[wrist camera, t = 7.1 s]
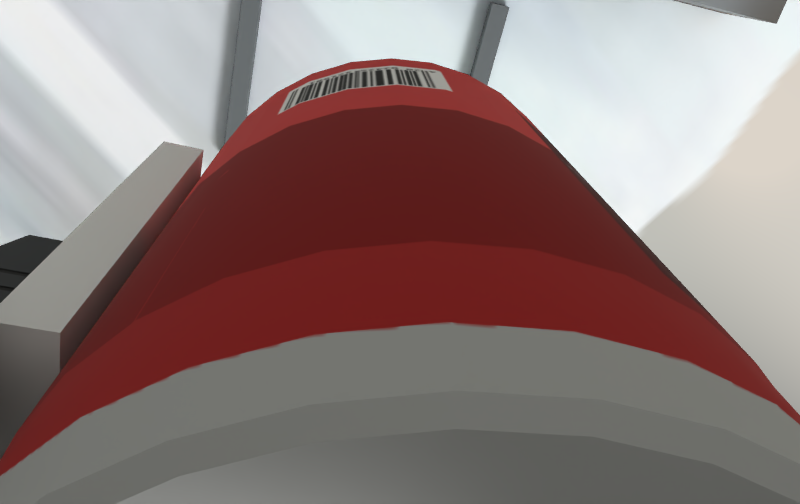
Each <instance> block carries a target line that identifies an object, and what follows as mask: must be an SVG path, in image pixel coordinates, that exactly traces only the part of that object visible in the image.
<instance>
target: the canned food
mask: <svg viewBox="0 0 800 504" xmlns="http://www.w3.org/2000/svg"><path fill="white" fill-rule="evenodd" d="M0 504H800V415H799V414H798V413H797V412H796V411H795V410H794V409H793V407H792V406H791V405H790V404H789V403H788V402H787V401H786V400H785V399H784V398H783V396H782V395H781V394H780V393H779V392H778V391H777V390H776V389H775V388H774V386H773V385H772V384H771V383H770V381H769V380H768V379H767V377H766V376H765V374H764V373H763V372H762V370H761V369H760V368H759V366H758V365H757V364H756V363H755V362H754V360H753V359H752V358H751V357H750V356H749V355H748V354H747V353H746V352H745V351H744V350H743V349H742V348H741V347H740V345H739V344H738V343H737V342H736V341H735V340H734V339H733V338H732V337H731V336H730V335H729V334H728V333H727V332H726V330H725V329H724V328H723V327H722V326H721V325H720V324H719V323H718V322H717V321H716V320H715V319H714V318H713V316H711V314H710V313H709V312H708V311H707V310H706V309H705V308H704V307H703V306H702V305H701V304H700V302H699V301H698V300H697V299H696V298H694V296H693V295H692V294H691V293H690V292H689V291H688V290H687V289H686V287H685V286H684V285H683V284H682V283H681V282H680V281H679V280H678V279H677V278H676V277H675V276H674V275H673V274H672V272H671V271H670V270H669V269H668V268H667V267H666V266H665V265H664V264H663V263H662V262H661V261H660V260H659V259H658V257H657V256H656V255H655V254H654V253H653V252H652V251H651V250H650V249H649V248H648V247H647V246H646V245H645V244H644V242H643V241H642V240H641V239H640V238H639V237H638V236H637V235H636V234H635V233H634V232H633V231H632V230H631V228H630V227H629V226H628V225H627V224H626V223H625V222H624V221H623V220H622V219H621V218H620V217H619V216H618V215H617V213H616V212H615V211H614V210H613V209H612V208H611V207H610V206H609V205H608V204H607V203H606V202H605V201H604V199H603V198H602V197H601V196H600V195H599V194H598V193H597V192H596V191H595V190H594V189H593V188H592V187H591V186H590V184H589V183H588V182H587V181H586V180H585V179H584V178H583V177H582V176H581V175H580V174H579V173H578V172H577V171H576V169H575V168H574V167H573V166H572V165H571V164H570V163H569V162H568V161H567V160H566V159H565V158H564V157H563V155H562V154H561V153H560V152H559V151H558V150H557V149H556V148H555V147H554V146H553V145H552V144H551V143H550V142H549V140H548V139H547V138H546V137H545V136H544V135H543V134H542V133H541V132H540V131H539V130H538V129H537V128H536V127H535V125H534V124H533V123H532V122H531V121H530V120H529V119H528V118H527V117H526V116H525V115H524V114H523V113H522V112H521V111H519V110H518V109H517V108H516V107H515V106H514V105H513V104H512V103H511V102H510V101H509V100H507V99H506V98H505V97H504V96H503V95H502V94H501V93H499V92H497V91H496V90H494V89H492V88H490V87H489V86H487V85H485V84H484V83H482V82H480V81H478V80H477V79H475V78H473V77H471V76H470V75H468V74H464V73H461V72H458V71H455V70H452V69H449V68H446V67H443V66H440V65H436V64H433V63H428V62H419V61H410V60H400V59H381V60H370V61H359V62H350V63H347V64H344V65H340V66H337V67H333V68H330V69H327V70H323V71H320V72H317V73H313V74H311V75H309V76H307V77H305V78H303V79H301V80H299V81H298V82H296V83H294V84H292V85H290V86H288V87H286V88H284V89H282V90H280V91H279V92H277V93H276V94H274V95H273V96H272V97H271V98H269V99H268V100H267V101H266V102H264V103H263V104H262V105H261V106H260V107H258V108H257V109H256V110H255V111H253V112H252V113H251V114H250V115H249V116H247V117H246V119H245V120H244V121H243V122H242V124H241V125H240V126H239V127H238V128H237V130H236V131H235V132H234V133H233V135H232V136H231V137H230V138H229V140H228V141H227V142H226V143H225V145H224V146H223V147H222V149H221V150H220V151H219V153H218V154H217V155H216V157H215V158H214V160H213V161H212V162H211V164H210V165H209V167H208V168H207V169H206V171H205V172H204V173H203V175H202V176H201V178H200V179H199V180H198V182H197V183H196V185H195V186H194V187H193V189H192V190H191V191H190V193H189V194H188V196H187V197H186V198H185V200H184V201H183V203H182V204H181V205H180V207H179V208H178V209H177V211H176V212H175V214H174V215H173V216H172V218H171V219H170V221H169V222H168V223H167V225H166V226H165V227H164V229H163V230H162V232H161V233H160V234H159V236H158V237H157V239H156V240H155V241H154V243H153V244H152V246H151V247H150V248H149V250H148V251H147V252H146V254H145V255H144V257H143V258H142V259H141V261H140V262H139V264H138V265H137V266H136V268H135V269H134V270H133V272H132V273H131V275H130V276H129V277H128V279H127V280H126V282H125V283H124V284H123V286H122V287H121V288H120V290H119V291H118V293H117V294H116V295H115V297H114V298H113V300H112V301H111V302H110V304H109V305H108V306H107V308H106V309H105V311H104V312H103V313H102V315H101V316H100V318H99V319H98V320H97V322H96V323H95V324H94V326H93V327H92V329H91V330H90V331H89V333H88V334H87V336H86V337H85V338H84V340H83V341H82V342H81V344H80V345H79V347H78V348H77V349H76V351H75V352H74V354H73V355H72V356H71V358H70V359H69V360H68V362H67V363H66V365H65V366H64V367H63V369H62V370H61V372H60V373H59V374H58V376H57V377H56V378H55V380H54V381H53V383H52V384H51V385H50V387H49V388H48V390H47V391H46V392H45V394H44V395H43V396H42V398H41V399H40V401H39V402H38V403H37V405H36V406H35V408H34V409H33V410H32V412H31V413H30V414H29V416H28V417H27V419H26V420H25V421H24V423H23V424H22V426H21V427H20V428H19V430H18V431H17V432H16V434H15V436H14V437H13V439H12V441H11V443H10V444H9V446H8V448H7V450H6V451H5V453H4V455H3V456H2V458H1V460H0Z"/></svg>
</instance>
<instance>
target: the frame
mask: <svg viewBox="0 0 800 504" xmlns="http://www.w3.org/2000/svg"><path fill="white" fill-rule="evenodd" d="M261 4H262V0H242V2H241V10H240V18H239V27H238V35H237V43H236V52H235V60H234V68H233V77H232V85H231V93H230V102H229V110H228V118H227V127H226V135H225V143H226V142H227V141H228V140H229V138H230V137H231V136H232V135H233V133H234V132H235V131H236V130H237V128H238V127H239V126H240V125H241V124H242V122H243V121H244V120H245V119H246V117H247V110H248V103H249V95H250V88H251V80H252V72H253V65H254V57H255V50H256V42H257V35H258V27H259V20H260V12H261ZM508 10H509V7H507V6H504V5H500V4H496V3H492V2H490V5H489V9H488V12H487V16H486V20H485V23H484V27H483V31H482V34H481V38H480V42H479V45H478V49H477V53H476V56H475V60H474V64H473V67H472V71H471V75H470V76H471V77H473V78H475V79H477V80H478V81H480V82H482V83H484V84H485V85H487V84H488V81H489V77H490V74H491V70H492V67H493V63H494V60H495V56H496V53H497V49H498V46H499V42H500V38H501V35H502V31H503V28H504V24H505V21H506V17H507V14H508ZM225 143H224V145H225Z"/></svg>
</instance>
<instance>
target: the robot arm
mask: <svg viewBox="0 0 800 504" xmlns="http://www.w3.org/2000/svg"><path fill="white" fill-rule="evenodd" d="M202 158H203V150H202V149H197V148H192V147H187V146H182V145H178V144H173V143H168V142H163V143H162V144H161V145H160V146H159V147H158V148H157V149H156V150H155V151H154V152H153V153H152V154H151V155H150V156H149V157H148V158H147V159H146V160H145V161H144V162H143V163H142V164H141V165H140V166H139V167H138V168H137V169H136V170H135V171H134V172H133V173H132V174H131V175H130V176H129V177H128V178H127V179H126V180H125V181H124V182H123V183H122V184H121V185H119V186H118V187H117V188H116V189H115V190H114V191H113V192H112V193H111V194H110V195H109V196H108V197H107V198H106V199H105V200H104V201H103V202H102V203H101V204H100V205H99V206H98V207H97V208H96V209H95V210H94V211H93V212H92V213H91V214H90V215H89V216H88V217H87V218H86V219H85V220H84V221H83V222H82V223H81V224H80V225H79V226H78V227H77V228H76V229H75V230H74V231H73V232H72V233H71V234H70V235H69V236H68V237H67V238H66V239H65V240H64V241H60V240H54V239H49V238H43V237H38V236H32V235H28V236H25V237H23V238H20V239H17V240H15V241H12V242H9V243H7V244H4V245H1V246H0V460H1V458H2V456H3V455H4V453H5V451H6V450H7V448H8V446H9V444H10V443H11V441H12V439H13V437H14V436H15V434H16V432H17V431H18V430H19V428H20V427H21V426H22V424H23V423H24V421H25V420H26V419H27V417H28V416H29V414H30V413H31V412H32V410H33V409H34V408H35V406H36V405H37V403H38V402H39V401H40V399H41V398H42V396H43V395H44V394H45V392H46V391H47V390H48V388H49V387H50V385H51V384H52V383H53V381H54V380H55V378H56V377H57V376H58V374H59V373H60V372H61V370H62V369H63V367H64V366H65V365H66V363H67V362H68V360H69V359H70V358H71V356H72V355H73V354H74V352H75V351H76V349H77V348H78V347H79V345H80V344H81V342H82V341H83V340H84V338H85V337H86V336H87V334H88V333H89V331H90V330H91V329H92V327H93V326H94V324H95V323H96V322H97V320H98V319H99V318H100V316H101V315H102V313H103V312H104V311H105V309H106V308H107V306H108V305H109V304H110V302H111V301H112V300H113V298H114V297H115V295H116V294H117V293H118V291H119V290H120V288H121V287H122V286H123V284H124V283H125V282H126V280H127V279H128V277H129V276H130V275H131V273H132V272H133V270H134V269H135V268H136V266H137V265H138V264H139V262H140V261H141V259H142V258H143V257H144V255H145V254H146V252H147V251H148V250H149V248H150V247H151V246H152V244H153V243H154V241H155V240H156V239H157V237H158V236H159V234H160V233H161V232H162V230H163V229H164V227H165V226H166V225H167V223H168V222H169V221H170V219H171V218H172V216H173V215H174V214H175V212H176V211H177V209H178V208H179V207H180V205H181V204H182V203H183V201H184V200H185V198H186V197H187V196H188V194H189V193H190V191H191V190H192V189H193V187H194V186H195V185H196V183H197V182H198V180H199V179H200V176H201V167H202Z"/></svg>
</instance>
